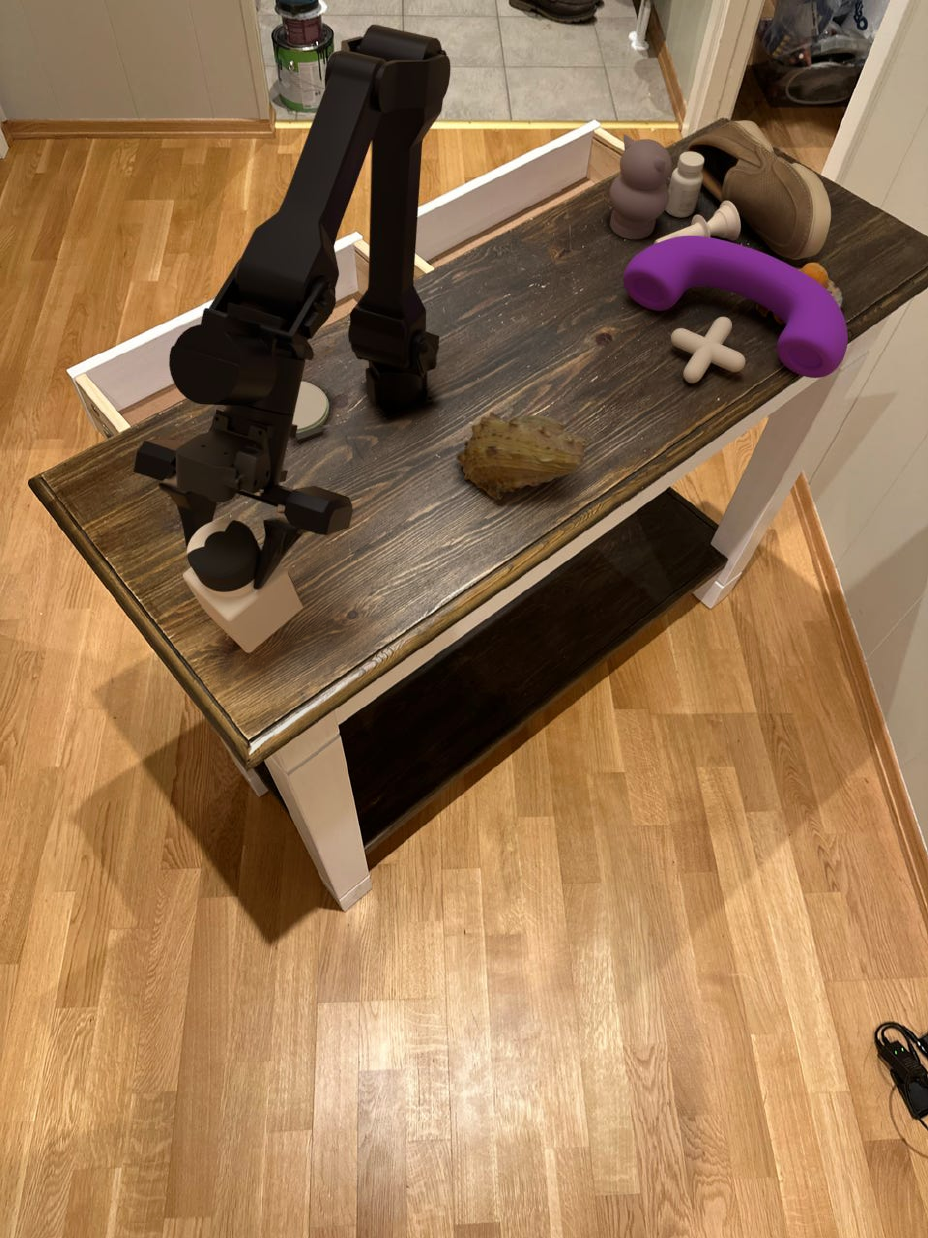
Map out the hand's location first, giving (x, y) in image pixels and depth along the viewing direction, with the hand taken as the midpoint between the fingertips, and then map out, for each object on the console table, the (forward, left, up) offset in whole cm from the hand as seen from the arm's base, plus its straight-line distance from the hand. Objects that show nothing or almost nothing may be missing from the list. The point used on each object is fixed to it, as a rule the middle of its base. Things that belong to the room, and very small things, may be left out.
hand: (225, 577), depth 79 cm
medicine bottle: (-2, -1, -8) cm, 8 cm away
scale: (-16, -28, -12) cm, 35 cm away
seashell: (-36, -7, -13) cm, 38 cm away
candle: (-84, -31, -9) cm, 90 cm away
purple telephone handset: (-73, -23, -1) cm, 76 cm away
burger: (-84, -16, -12) cm, 86 cm away
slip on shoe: (-92, -32, -7) cm, 98 cm away
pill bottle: (-82, -40, -13) cm, 92 cm away
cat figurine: (-73, -40, -13) cm, 84 cm away
